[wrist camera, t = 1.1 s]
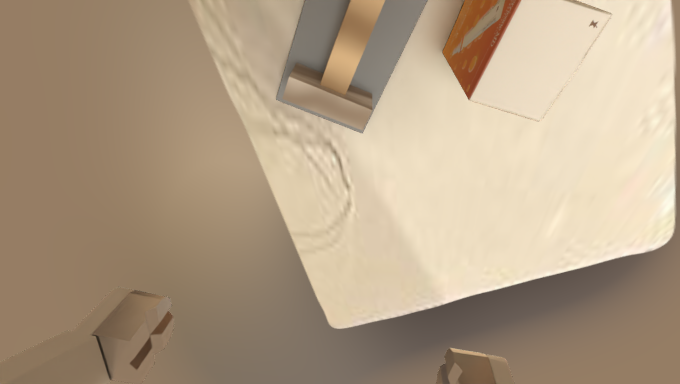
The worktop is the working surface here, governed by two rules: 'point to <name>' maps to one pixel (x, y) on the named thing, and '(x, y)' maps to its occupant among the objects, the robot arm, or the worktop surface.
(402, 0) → the mat
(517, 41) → the small box
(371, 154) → the worktop surface
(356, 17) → the wooden t-shaped stand
